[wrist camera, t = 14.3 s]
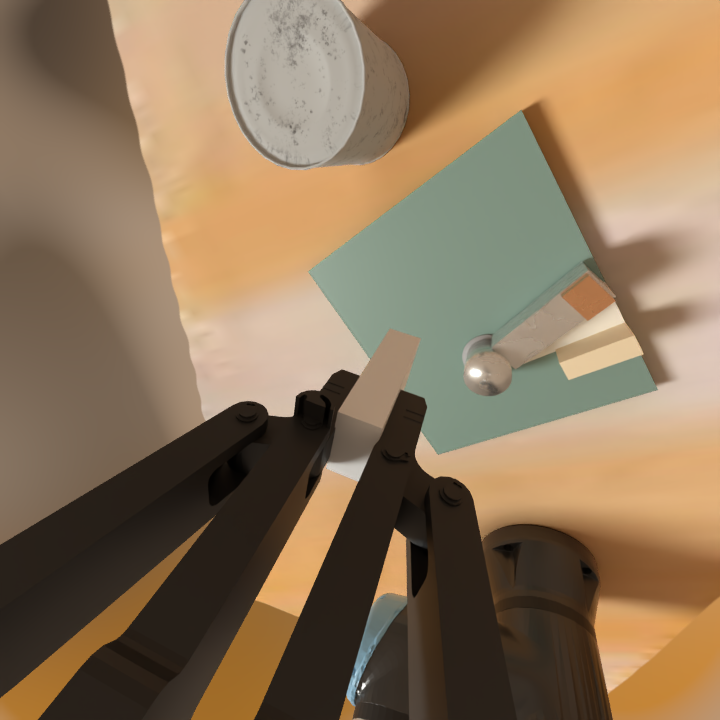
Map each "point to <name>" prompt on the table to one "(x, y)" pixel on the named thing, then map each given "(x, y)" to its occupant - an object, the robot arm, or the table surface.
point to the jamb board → (482, 292)
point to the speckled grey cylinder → (313, 84)
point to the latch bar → (535, 329)
